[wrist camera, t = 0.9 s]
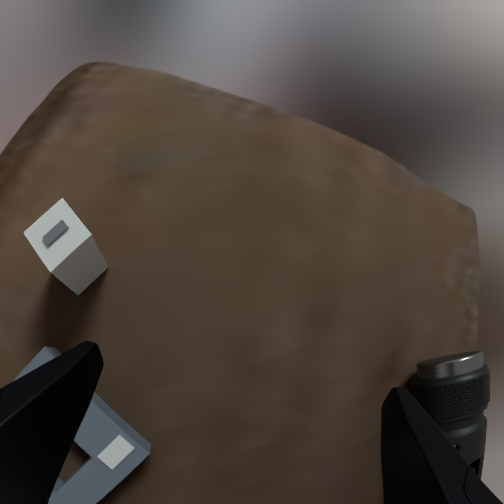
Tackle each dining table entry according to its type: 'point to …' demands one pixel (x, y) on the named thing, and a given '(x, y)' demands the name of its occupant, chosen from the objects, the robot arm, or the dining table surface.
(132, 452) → the socket plate
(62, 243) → the block
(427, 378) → the muzzle brake
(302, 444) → the dining table surface
